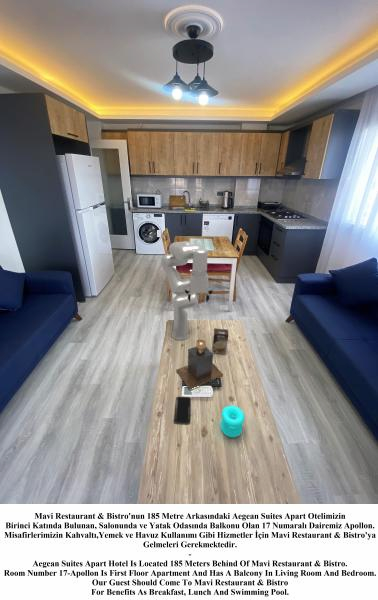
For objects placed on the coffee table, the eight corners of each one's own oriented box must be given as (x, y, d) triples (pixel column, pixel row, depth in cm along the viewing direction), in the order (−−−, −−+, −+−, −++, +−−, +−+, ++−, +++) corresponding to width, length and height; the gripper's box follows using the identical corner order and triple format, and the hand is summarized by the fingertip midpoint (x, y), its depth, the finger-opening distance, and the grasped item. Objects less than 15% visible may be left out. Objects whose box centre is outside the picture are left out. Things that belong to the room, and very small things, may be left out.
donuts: (221, 421, 103) (222, 402, 112) (219, 436, 108) (220, 417, 116) (245, 425, 102) (244, 406, 110) (242, 440, 106) (241, 420, 115)
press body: (176, 371, 142) (176, 349, 135) (207, 359, 152) (209, 338, 145) (189, 390, 130) (190, 367, 123) (222, 376, 140) (225, 353, 132)
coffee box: (212, 354, 157) (213, 333, 150) (212, 348, 163) (213, 328, 155) (226, 355, 156) (228, 335, 149) (225, 349, 162) (228, 329, 155)
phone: (173, 422, 112) (176, 396, 126) (173, 424, 113) (176, 398, 126) (190, 423, 112) (191, 397, 126) (190, 425, 113) (191, 398, 126)
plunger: (190, 369, 142) (190, 340, 132) (201, 365, 145) (203, 336, 136) (197, 378, 136) (198, 348, 126) (209, 373, 139) (211, 344, 129)
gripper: (182, 274, 125) (182, 303, 133) (216, 275, 125) (214, 304, 133) (183, 269, 132) (183, 297, 139) (215, 270, 132) (213, 298, 139)
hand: (198, 300), depth 136 cm, fingers open, 9 cm apart
